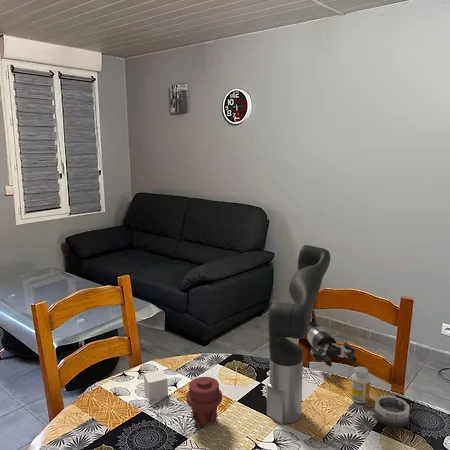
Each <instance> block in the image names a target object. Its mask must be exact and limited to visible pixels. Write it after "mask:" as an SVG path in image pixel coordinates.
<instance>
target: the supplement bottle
mask: <svg viewBox="0 0 450 450" xmlns="http://www.w3.org/2000/svg"><path fill="white" fill-rule="evenodd" d="M353 370H354V371H353V374H352V375H351V386H350V387H351V388H350V399H351V400H352V401H354V402H355V403H357V404H366V403H368V402H369V400H370V391H371V390H370V389H371V378H370V376H369V369H368V368H367V367H364V366H355V367H354V369H353Z"/></svg>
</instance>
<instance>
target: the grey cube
mask: <svg viewBox="0 0 450 450" xmlns="http://www.w3.org/2000/svg"><path fill="white" fill-rule="evenodd" d="M143 382H144V383H143V384H144V385H143V387H144V392H146V393H145V394H147V395H146V396H148V397H147V399H148V398H149V399H148V401H149V400H150V401H152V400H151V399H154V400H157V399H156V398H158V399H160V398H159V397H162V398H164V397H163V396H166V395H168V396H169V387H168V386H169V384H168V383H169V382H168V377H167V376H166V374H165V372H164V371H163V369H160V370H154V371H150V372H146V373H143ZM166 397H167V396H166Z"/></svg>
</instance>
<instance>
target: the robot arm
mask: <svg viewBox="0 0 450 450" xmlns="http://www.w3.org/2000/svg"><path fill="white" fill-rule="evenodd" d="M297 257H298V258H297V271H296V272H295V273H294V275H293V277H292V279H291V280H290V283H289V287H288V292H289V295H290V297H291V299H292V301H293V302H294V303H289V302H282V301H281V302H279V301H277V302H273V303H272V304H271V305H270V307H269V310H268V315H267V316H268V317H267V323H268V324H267V325H268V348H269V349H268V350H269V383H267V385H266V415H267V416H268V417H270V418H271V419H272V420H273V421H276V423H278V424H280V425H285V424H294V423H296V422H299V421H300V420H301V418H302V415H303V413H302V412H303V409H302V408H303V366H304V365H303V361H304V353H303V349H302V347H300V345H298V344H296V343H294V342H293V341H291V340H290V339H302V338H303V339H304V337H305V340H307V341H308V343H309V344H310V345H311V347H310V356H311V357H313V359H314V361H316V362H320V361H321V362H322V363H325V365H326V366H328V367H332V365H333V361H332V359H331V357H339V358H346V359H347V360H349V361H350V362H351V363H352V364H355V363H356V362H357V356H356V349H355V348H354V347H352V346H351V345H350V344H349V343H347V342H344V343H343V344H339V343H337V340H335V338H334V337H333V336H332V335H331V334H330V333H328V332H327V330H325V329H324V328H322V327H321V326H320V325H319V324H318V323H317V318H316V311H315V310H316V309H315V310H313V311H312V309H313V305H314V303H315V300H316V301H317V297H318V295H319V292H320V290H321V286H322V282H323V279H324V276H325V275H326V272H327V271H328V268H329V266H330V262H331V253H330V251H329V250H328V249H326V248H323V247H318V246H314V245H309V244H304V245H303V246H302V247H301V248H300V250H299V252H298V256H297ZM315 304H316V303H315ZM311 313H312V317H313V318H312V322H310V318H311ZM309 322H310V323H309ZM288 338H290V339H288Z"/></svg>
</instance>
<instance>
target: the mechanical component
mask: <svg viewBox="0 0 450 450" xmlns="http://www.w3.org/2000/svg"><path fill="white" fill-rule="evenodd" d="M185 400H186V404H187V405H188V406H189V407H191V416H192V419H193V421H195V423H196V425H195V426H196V427H197V428H202V427H204V426H205V425H209V424H210V423H211V424H216V423H217V417H218V412H217V411H218V406H219V405H220V404H221V403H222V400H223V392H222V391H221V389H220V383H219V381H218V379H216V378H214V377H211V376H198V377H196V378H194V379H191V381H190V382H189V384H188V391H187V392H186V399H185Z"/></svg>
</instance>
